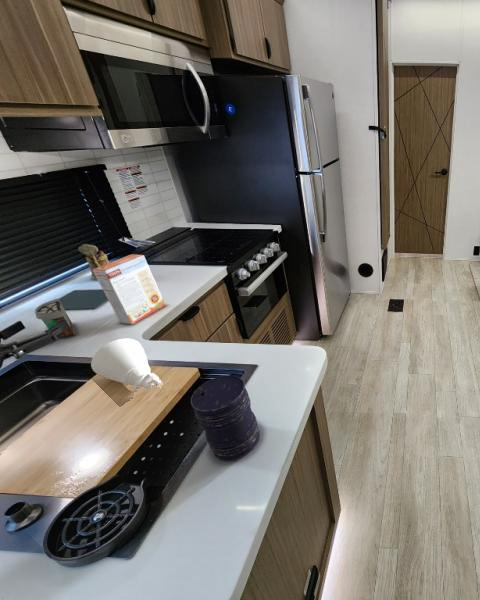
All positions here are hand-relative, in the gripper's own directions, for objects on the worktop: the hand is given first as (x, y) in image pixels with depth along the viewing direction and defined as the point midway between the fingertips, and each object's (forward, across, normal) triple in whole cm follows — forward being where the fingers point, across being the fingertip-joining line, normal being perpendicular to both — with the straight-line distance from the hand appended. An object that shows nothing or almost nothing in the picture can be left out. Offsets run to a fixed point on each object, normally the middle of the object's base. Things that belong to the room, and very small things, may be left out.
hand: (44, 323), depth 105 cm
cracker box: (+14, +20, -6) cm, 25 cm away
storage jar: (-43, +76, -6) cm, 87 cm away
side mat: (+27, -11, -6) cm, 30 cm away
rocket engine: (-24, +41, -6) cm, 48 cm away
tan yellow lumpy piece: (+48, -18, -6) cm, 52 cm away
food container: (+3, 0, -6) cm, 7 cm away
